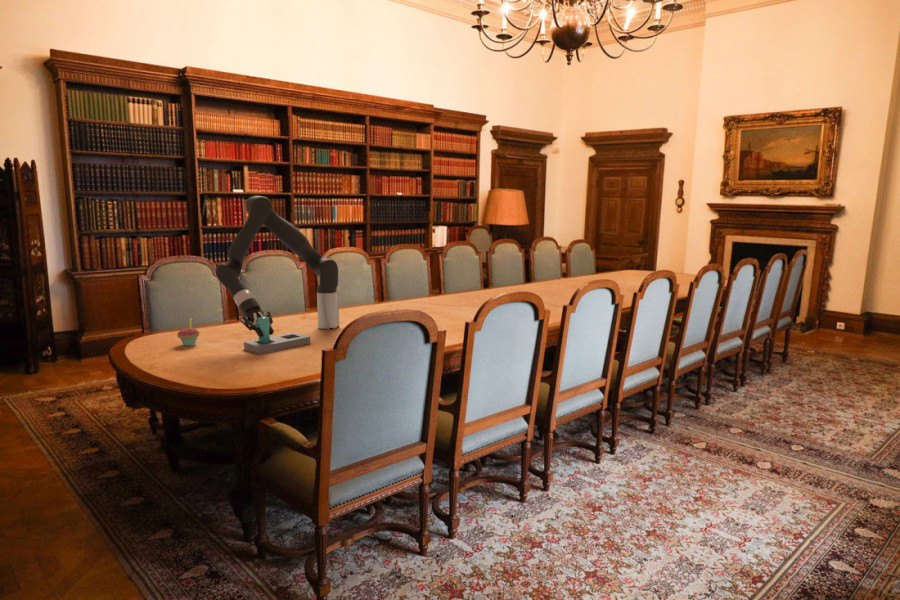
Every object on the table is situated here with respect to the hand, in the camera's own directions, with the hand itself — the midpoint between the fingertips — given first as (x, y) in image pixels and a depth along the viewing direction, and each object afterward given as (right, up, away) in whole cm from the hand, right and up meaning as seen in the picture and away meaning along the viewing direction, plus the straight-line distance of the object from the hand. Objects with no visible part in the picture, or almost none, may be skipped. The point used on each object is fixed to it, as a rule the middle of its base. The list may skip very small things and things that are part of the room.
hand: (267, 334), depth 236 cm
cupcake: (-36, -5, +8) cm, 37 cm away
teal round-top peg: (-2, -5, +2) cm, 5 cm away
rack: (+3, -5, +6) cm, 9 cm away
